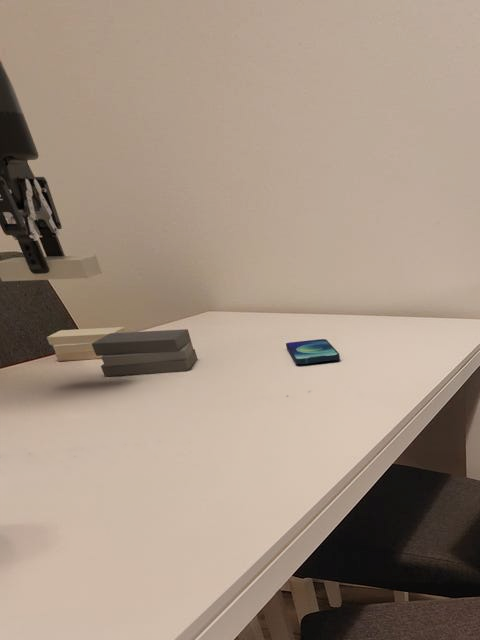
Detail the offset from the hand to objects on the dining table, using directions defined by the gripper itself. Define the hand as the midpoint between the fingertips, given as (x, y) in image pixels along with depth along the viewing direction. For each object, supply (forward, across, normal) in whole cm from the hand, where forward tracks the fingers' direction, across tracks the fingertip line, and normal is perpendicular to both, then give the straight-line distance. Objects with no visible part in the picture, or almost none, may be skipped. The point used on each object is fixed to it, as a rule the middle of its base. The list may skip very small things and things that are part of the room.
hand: (50, 269), depth 82 cm
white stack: (+15, -22, -7) cm, 27 cm away
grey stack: (+15, -9, +6) cm, 19 cm away
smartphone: (+15, -11, +33) cm, 38 cm away
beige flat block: (+1, 0, 0) cm, 1 cm away
